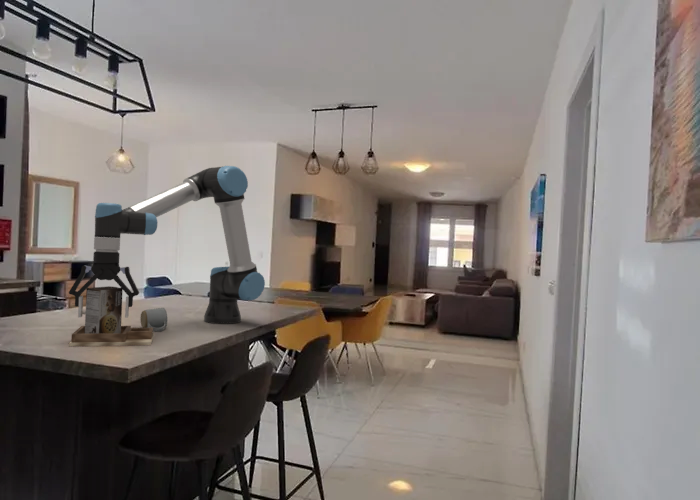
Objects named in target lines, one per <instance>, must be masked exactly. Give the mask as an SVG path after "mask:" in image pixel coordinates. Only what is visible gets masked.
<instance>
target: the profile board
mask: <svg viewBox="0 0 700 500" xmlns="http://www.w3.org/2000/svg"><path fill="white" fill-rule="evenodd" d="M154 336H155V332H154V331H153V328H142V327H132V325H121V333H105V334H85V325H81V326H79V328H77V329H76V330H75V331H74V332H73V333H71V340H70V341H69V342H68V347H112V346H115V347H119V346H120V347H121V346H123V347H124V346H125V347H126V346H127V347H128V346H134V347H135V346H151V345H152V342H153V340H154Z"/></svg>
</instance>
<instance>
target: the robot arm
mask: <svg viewBox="0 0 700 500" xmlns="http://www.w3.org/2000/svg"><path fill="white" fill-rule="evenodd" d="M248 181H249V180H248V177H247V175H246V174H245V172H244V171H243V170H242V169H240V168H239V167H238V166H234V165H224V166H217V167H208V168H206V169H203V170H201V171H199V172H196V173H195V174H192V175H191V176H189V177H187V178H184V179H183V181H182V183H179V184H176V185H175V186H172V187H171V188H169V189H166V190H164V191H161V192H159V193H157V194H155V195H153V196H150V197H148V198H147V199H143V200H142V201H139V202H137V203H135V204H132V205H130V206H128V207H127V208H124V209H123V208H122V205H121V204H120V203H110V202H99V203H97V204H96V206H95V207H96V208H95V212H94V213H95V214H94V237H93V239H94V240H93V250H94V252H93V259H92V265H91V266H90V265H82V266H81V270H80V273H79V274H78V276H77V278H76V280H75V281H74V282H73V285H72V286H71V288H70V289H69V291H68V294H69V295H72V296H74V307H75V308H76V307H78V308H77V309H78V311H77V314H78V315H77V317H78V318H82V317H83V314H82V313H83V310H84V307H83V306H84V295H83V293H84V292H85V291H87V288H90V286H91V285H92V284H93V283H94V282H95V281H96V280H97V279H98V280H99V281H105V280H106V281H112V280H114V282H116V283H117V285H118V286H119V288H122V291H123V292H124V293H125V294H126V295H127V296H126V297H125V308H124V309H125V312H124V314H125V315H124V318H129V312H130V311H129V310H130V309H129V308H132V306H133V305H134V304H133V303H134V300H133V299H134V297H136V296H138V295H140V291H139V289H138V287H137V285H136V283H135V281H134V278H133V277H132V274H131V269H130V266H125V267H123V266H122V267H120V266H121V265H120V249H121V235H125V234H127V235H143V236H148V235H151V236H152V235H154V234H156V232H157V229H158V217H160V216H162V215H164V214H167V213H169V212H171V211H172V210H175V209H177V208H180V207H181V206H184V205H185V204H187V203H189V202H192V201H193V202H198V201H200V200H202V199H206V198H213V200H214V204H215V205H216V206H218V208H219V210H220V211H219V212H220V216H221V217H220V218H221V223H222V228H223V234H224V238H225V244H226V250H227V257H228V260H229V266H218V267H217V266H216V267H213V268H212V269H211V270H210V275H209V278H210V279H209V301H208V302H209V303H208V305H207V308H206V310H205V313H204V316H203V317H204V318H203V321H204V322H206V323H211V324H236V323H237V324H238V323H240V322H241V321H242V317H241V312H240V309H239V305H238V300H242V301H255V300H257V299H258V298H260V296H261V295H262V292H264V289H265V286H266V281H265V278H264V275H262V273H260V272H258V268H257V264H256V263H254V262H253V261H252V257H251V256H252V255H251V251H250V244H249V239H248V234H247V227H246V222H245V218H244V217H245V216H244V212H243V211H244V210H243V205H242V203H243V202H244V200H245V193H246V192H247V189H248V186H249V184H248V183H249V182H248ZM90 271H91V272H92V274H93V276H91V277H90V278H89V279H88V281H86V282H85V284H84V285H82V286H81V288H79V290H78V291H76V290H77V289H78V287H79V286H80V285H81V283H82V281H83V279H84V278H85V276H86V274H87V273H89V272H90ZM120 272H122V274H124V275H125V277H126V279H127V281H128V283H129V285H130V288H131V289H132V291H131V290H130V289H129V287H128V286H127V285H126V283H125V282H124V281H123V280H122V279H121V277H120V276H119V275H118V274H119V273H120Z"/></svg>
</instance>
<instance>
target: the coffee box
mask: <svg viewBox="0 0 700 500" xmlns="http://www.w3.org/2000/svg"><path fill="white" fill-rule="evenodd" d="M85 291H86V293H85V294H86V296H85V297H86V298H85V310H86V315H85V314H84V315H85V317H84V326H85V334H105V333H121V326H122V314H123V311H122V310H123V289H122V288H121V287H117V286H110V285H109V286H98V287H88V288H87V289H86V290H85Z"/></svg>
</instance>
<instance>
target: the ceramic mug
mask: <svg viewBox="0 0 700 500" xmlns="http://www.w3.org/2000/svg"><path fill="white" fill-rule="evenodd" d="M139 320H140V325H141V328H153V332H162V331H164V330H165V329H166V328H167V326H168V313H167V309H166V308H165V307H159V308H149V309H144V310H142V312H141V313H140V319H139Z"/></svg>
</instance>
